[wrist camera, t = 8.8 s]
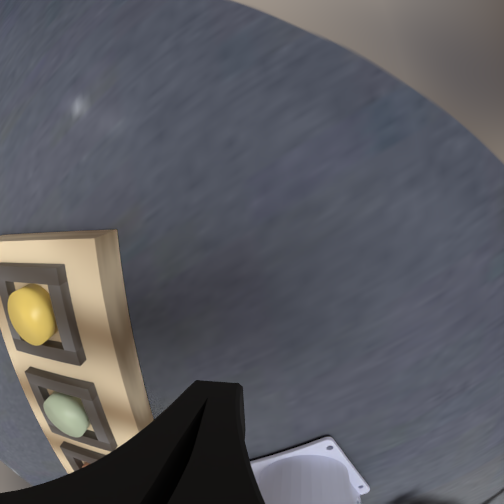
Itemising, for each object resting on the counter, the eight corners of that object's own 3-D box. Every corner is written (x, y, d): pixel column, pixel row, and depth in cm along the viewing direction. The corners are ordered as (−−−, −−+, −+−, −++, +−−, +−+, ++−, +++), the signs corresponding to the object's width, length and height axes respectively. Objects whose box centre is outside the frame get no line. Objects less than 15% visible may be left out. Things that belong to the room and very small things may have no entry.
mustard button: (69, 324, 17) (56, 334, 15) (42, 342, 18) (30, 352, 16) (37, 273, 16) (23, 281, 15) (14, 297, 17) (0, 305, 16)
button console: (177, 492, 24) (168, 517, 21) (83, 466, 25) (70, 486, 22) (117, 229, 18) (86, 241, 14) (3, 235, 19) (-28, 244, 16)
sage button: (100, 422, 19) (92, 434, 17) (75, 429, 19) (67, 439, 18) (68, 383, 18) (58, 394, 17) (46, 394, 19) (36, 404, 18)
